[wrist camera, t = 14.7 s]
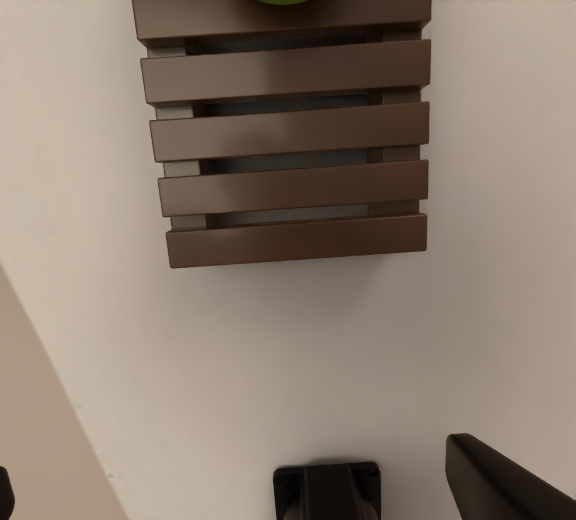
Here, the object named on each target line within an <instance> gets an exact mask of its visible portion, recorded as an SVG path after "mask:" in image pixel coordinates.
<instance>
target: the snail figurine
mask: <svg viewBox="0 0 576 520" xmlns="http://www.w3.org/2000/svg"><path fill="white" fill-rule="evenodd" d="M259 1H262V2H265V3H270V4H277V5H289V4H296V3H300V2H304V1H307V0H259Z"/></svg>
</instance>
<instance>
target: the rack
mask: <svg viewBox="0 0 576 520" xmlns="http://www.w3.org/2000/svg"><path fill="white" fill-rule="evenodd" d="M431 1H432V0H307V1H304V2H300V3H296V4H289V5H277V4H270V3H265V2H262V1H259V0H132V5H133V12H134V19H135V26H136V33H137V39H138V41H139V42H141V43H142V44H143V45H144V46H145V47H146V48H147V53H148V58H141V59H140V62H141V69H142V76H143V83H144V90H145V97H146V103H147V104H149V105H151V106H153V107H155V111H156V118H157V120H150V121H149V124H150V131H151V138H152V145H153V152H154V159H155V162H157V163H163V168H164V175H165V177H164V178H158V187H159V194H160V201H161V208H162V215H163V217H170V218H171V226H172V229H171V230H170V231H168V232H166V241H167V248H168V255H169V262H170V267H171V268H172V269H174V268H188V267H202V266H217V265H231V264H246V263H260V262H274V261H289V260H303V259H317V258H332V257H346V256H361V255H375V254H389V253H404V252H418V251H426V249H427V214H424V213H421V212H419V200H424V199H428V165H429V161H428V160H420V145H425V144H428V143H429V110H430V103H429V102H421V89H423V88H424V87H426V86H428V85H429V84H430V66H431V39H424V40H421V34H422V29H423V28H424V27H425V26H426V25H427V24H428V23H429V22H430V21H431ZM352 34H365V43H364V44H349V45H335V46H320V47H305V48H290V49H275V50H260V51H245V52H230V53H215V54H201V55H200V48H199V45H203V44H218V43H233V42H248V41H263V40H278V39H292V38H307V37H322V36H337V35H352ZM365 93H366V106H354V107H339V108H324V109H310V110H295V111H280V112H265V113H251V114H236V115H221V116H207V111H206V104H217V103H232V102H247V101H262V100H276V99H291V98H306V97H321V96H335V95H350V94H365ZM362 149H367V164H354V165H340V166H325V167H310V168H296V169H281V170H267V171H252V172H237V173H223V174H213V166H212V160H216V159H230V158H245V157H260V156H274V155H289V154H303V153H318V152H333V151H347V150H362ZM366 203H368V215H365V216H350V217H336V218H321V219H307V220H292V221H278V222H263V223H249V224H234V225H220V226H219V221H218V214H221V213H236V212H250V211H265V210H279V209H294V208H308V207H323V206H337V205H352V204H366Z"/></svg>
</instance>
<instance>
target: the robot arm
mask: <svg viewBox="0 0 576 520" xmlns="http://www.w3.org/2000/svg"><path fill="white" fill-rule="evenodd" d="M371 470H374V471H373V472H369V471H371ZM445 471H446V477H447V481H448V483H449V486H450V489H451V491H452V494H453V496H454V499H455V502H456V504H457V507H458V509H459V512H460V515H461V517H462V520H576V501H575V500H574V499H572V498H570V497H569V496H567V495H566V494H564V493H562V492H561V491H559V490H558V489H556V488H555V487H553V486H551V485H550V484H548V483H547V482H545V481H543V480H542V479H540V478H539V477H537V476H536V475H534V474H532V473H531V472H529V471H528V470H526V469H524V468H523V467H521V466H520V465H518V464H517V463H515V462H513V461H512V460H510V459H509V458H507V457H505V456H504V455H502V454H501V453H499V452H498V451H496V450H494V449H493V448H491V447H490V446H488V445H486V444H485V443H483V442H482V441H480V440H479V439H477V438H475V437H474V436H472V435H470V434H468V433H461V434H450V435H449V436H448V437H447V440H446V461H445ZM279 477H284V478H282V479H280V478H279ZM273 485H274V496H275V507H276V518H277V520H381V473H380V469H379V466H378V465H377V464H376V463H374V462H361V463H347V464H333V465H320V466H306V467H292V468H280V469H277V470H276V471H275V472H274V474H273ZM14 504H15V497H14V493H13V490H12V486H11V483H10V479H9V476H8V473H7V470H6V469H5V468H4V467H2V466H0V520H9V518H10V516H11V514H12V512H13V509H14Z"/></svg>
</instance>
